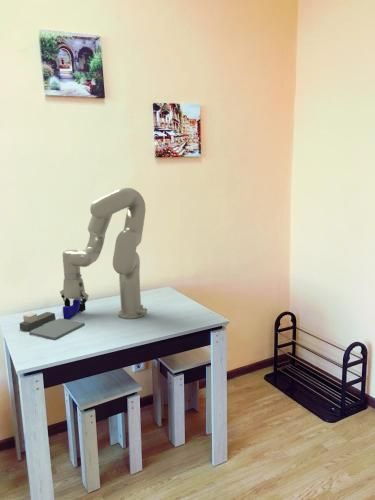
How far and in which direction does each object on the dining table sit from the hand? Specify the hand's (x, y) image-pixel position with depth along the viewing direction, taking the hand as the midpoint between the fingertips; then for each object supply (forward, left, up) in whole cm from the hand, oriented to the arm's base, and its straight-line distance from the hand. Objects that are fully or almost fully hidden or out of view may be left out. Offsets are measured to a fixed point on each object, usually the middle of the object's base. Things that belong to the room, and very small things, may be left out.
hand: (75, 309), depth 202 cm
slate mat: (-7, +19, -2) cm, 20 cm away
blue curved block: (+1, +2, -3) cm, 3 cm away
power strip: (+6, +18, -2) cm, 19 cm away
